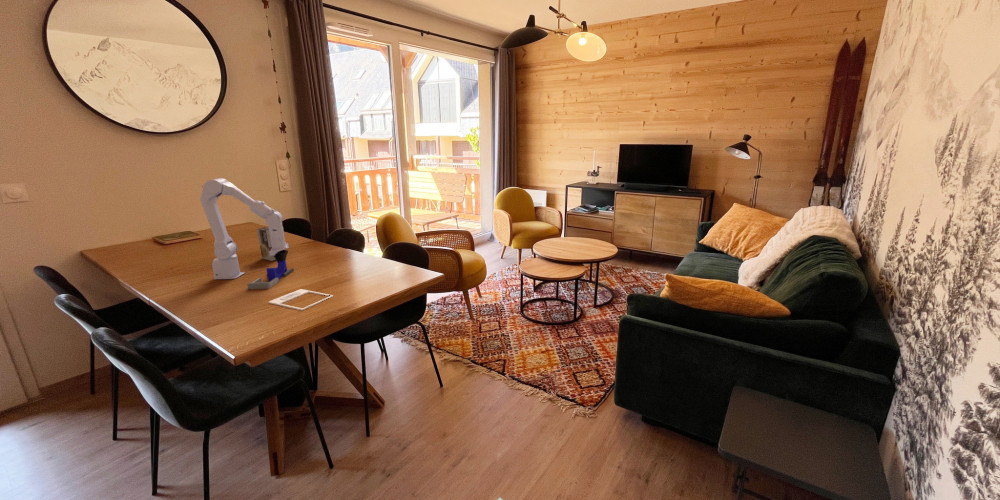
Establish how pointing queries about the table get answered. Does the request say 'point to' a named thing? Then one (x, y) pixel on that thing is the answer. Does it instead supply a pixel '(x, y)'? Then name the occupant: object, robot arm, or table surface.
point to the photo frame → (295, 295)
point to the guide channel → (287, 272)
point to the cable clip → (277, 271)
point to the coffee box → (265, 243)
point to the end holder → (262, 284)
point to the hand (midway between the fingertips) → (282, 266)
